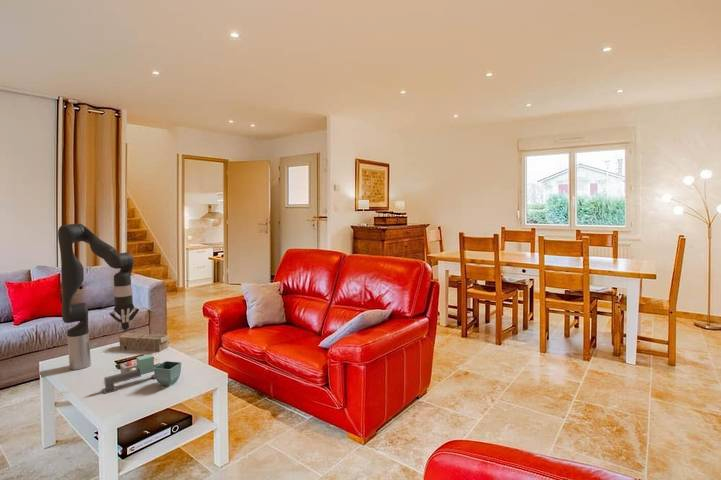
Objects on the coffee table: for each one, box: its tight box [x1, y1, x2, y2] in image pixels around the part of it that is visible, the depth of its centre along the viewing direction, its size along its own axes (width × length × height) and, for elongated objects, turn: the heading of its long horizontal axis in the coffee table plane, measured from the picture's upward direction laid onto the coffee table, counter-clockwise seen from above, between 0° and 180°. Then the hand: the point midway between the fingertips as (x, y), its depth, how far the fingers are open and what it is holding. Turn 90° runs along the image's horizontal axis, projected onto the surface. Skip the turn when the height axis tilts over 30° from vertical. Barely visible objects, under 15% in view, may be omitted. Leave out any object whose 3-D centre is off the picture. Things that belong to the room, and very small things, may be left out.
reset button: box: [126, 360, 135, 366], centre depth 201 cm, size 3×3×4 cm
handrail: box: [101, 362, 161, 395], centre depth 194 cm, size 5×26×6 cm, turn 134°
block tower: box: [118, 332, 171, 353], centre depth 241 cm, size 8×8×29 cm
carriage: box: [136, 353, 155, 375], centre depth 197 cm, size 5×6×7 cm
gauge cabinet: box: [119, 360, 142, 381], centre depth 201 cm, size 7×7×6 cm
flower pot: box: [154, 360, 182, 387], centre depth 192 cm, size 9×9×9 cm
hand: (125, 329), depth 199 cm, fingers closed
